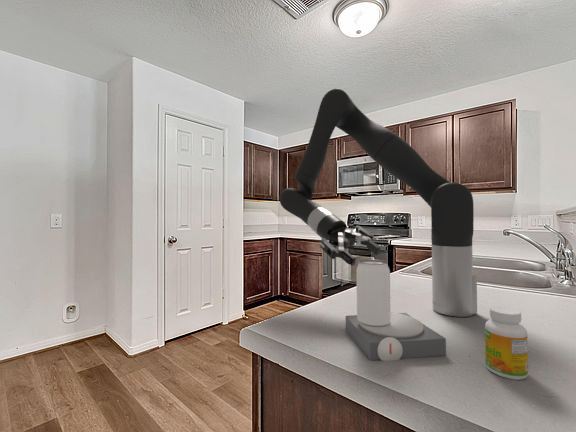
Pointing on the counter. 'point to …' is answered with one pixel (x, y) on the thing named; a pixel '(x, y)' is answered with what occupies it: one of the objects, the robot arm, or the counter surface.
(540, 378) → the counter surface
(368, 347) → the scale
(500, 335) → the supplement bottle
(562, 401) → the counter surface
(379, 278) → the can
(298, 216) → the robot arm
